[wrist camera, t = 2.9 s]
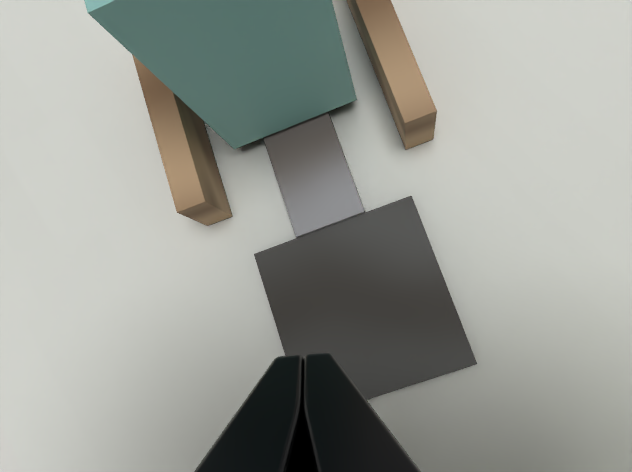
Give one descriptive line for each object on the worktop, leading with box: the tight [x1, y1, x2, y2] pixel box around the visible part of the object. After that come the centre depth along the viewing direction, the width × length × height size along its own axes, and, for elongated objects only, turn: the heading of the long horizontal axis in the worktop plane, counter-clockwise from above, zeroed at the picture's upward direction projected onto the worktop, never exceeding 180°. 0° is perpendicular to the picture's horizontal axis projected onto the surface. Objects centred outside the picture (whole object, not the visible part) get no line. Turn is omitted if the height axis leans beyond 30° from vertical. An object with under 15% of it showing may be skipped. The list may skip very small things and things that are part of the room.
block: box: [84, 0, 357, 149], centre depth 17 cm, size 5×6×10 cm
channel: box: [132, 0, 477, 400], centre depth 21 cm, size 28×10×3 cm, turn 19°
